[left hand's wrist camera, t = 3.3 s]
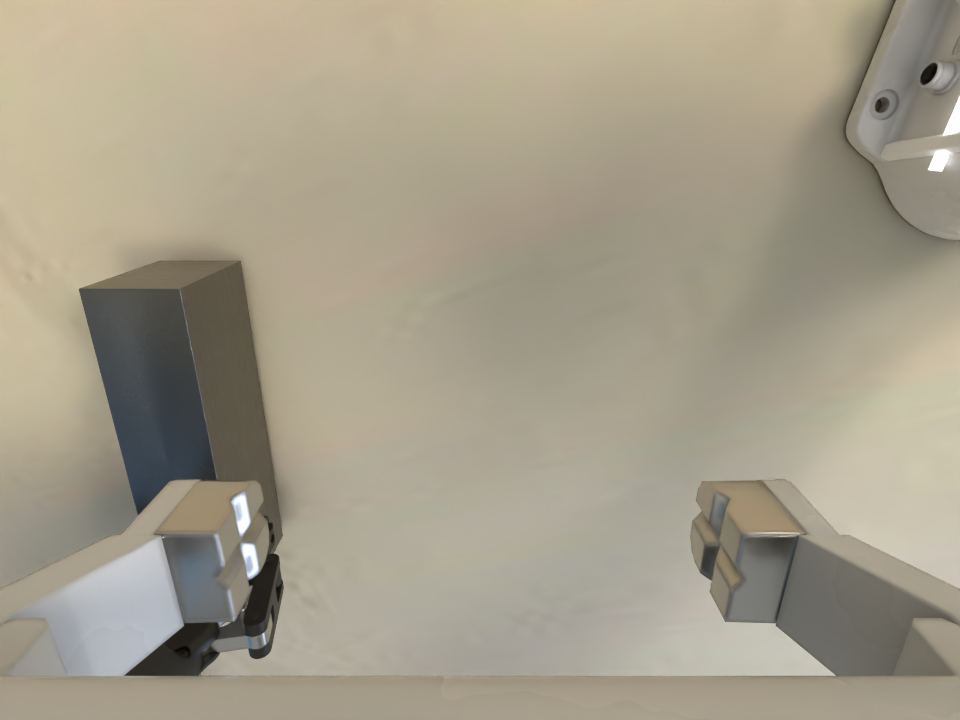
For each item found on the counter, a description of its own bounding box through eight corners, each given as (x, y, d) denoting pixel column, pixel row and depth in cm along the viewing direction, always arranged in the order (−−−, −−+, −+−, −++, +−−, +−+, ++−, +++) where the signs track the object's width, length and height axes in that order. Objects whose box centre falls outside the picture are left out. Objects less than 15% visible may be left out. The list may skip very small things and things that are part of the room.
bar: (159, 260, 37) (78, 288, 30) (240, 260, 37) (180, 289, 30) (215, 535, 45) (162, 611, 38) (283, 535, 45) (243, 611, 38)
